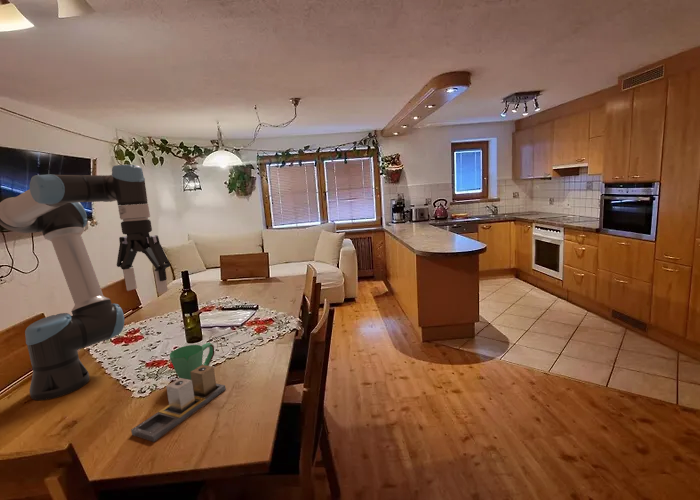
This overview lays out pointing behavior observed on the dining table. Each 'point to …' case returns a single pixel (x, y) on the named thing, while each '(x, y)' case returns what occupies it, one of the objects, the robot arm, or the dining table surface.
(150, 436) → the grey slotted tray
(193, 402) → the white rectangular block
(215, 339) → the eyeglasses
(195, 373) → the brown rectangular block
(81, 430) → the dining table surface
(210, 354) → the mug
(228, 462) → the dining table surface
